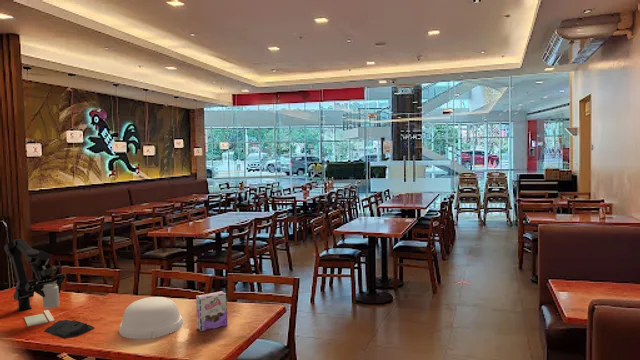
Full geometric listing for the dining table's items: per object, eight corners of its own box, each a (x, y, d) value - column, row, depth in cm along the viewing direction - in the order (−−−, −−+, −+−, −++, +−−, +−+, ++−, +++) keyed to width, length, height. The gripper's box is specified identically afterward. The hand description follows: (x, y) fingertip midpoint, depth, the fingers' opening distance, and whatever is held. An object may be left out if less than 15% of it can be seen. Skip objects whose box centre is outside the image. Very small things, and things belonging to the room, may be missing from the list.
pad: (24, 318, 259) (24, 317, 259) (43, 314, 264) (43, 313, 264) (27, 326, 246) (27, 325, 246) (47, 322, 251) (47, 321, 251)
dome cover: (119, 321, 250) (118, 295, 249) (179, 313, 261) (178, 287, 260) (118, 344, 220) (117, 314, 219) (186, 333, 231) (185, 304, 230)
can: (50, 309, 251) (48, 287, 250) (40, 308, 254) (38, 285, 253) (62, 305, 258) (61, 283, 257) (52, 303, 261) (51, 281, 260)
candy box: (200, 331, 233) (199, 298, 232) (196, 328, 238) (195, 295, 237) (227, 325, 240) (226, 293, 239) (223, 322, 245) (222, 290, 244)
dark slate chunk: (70, 322, 252) (70, 313, 251) (97, 329, 240) (96, 320, 240) (41, 332, 238) (40, 323, 238) (67, 340, 227) (67, 330, 227)
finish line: (43, 311, 269) (43, 310, 269) (48, 310, 271) (48, 309, 271) (49, 322, 252) (49, 321, 252) (54, 320, 253) (54, 320, 253)
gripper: (26, 266, 249) (37, 290, 243) (63, 258, 264) (74, 281, 259) (20, 278, 254) (31, 303, 249) (56, 271, 269) (67, 293, 264)
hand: (51, 294), depth 255 cm, fingers closed on can, 7 cm apart
